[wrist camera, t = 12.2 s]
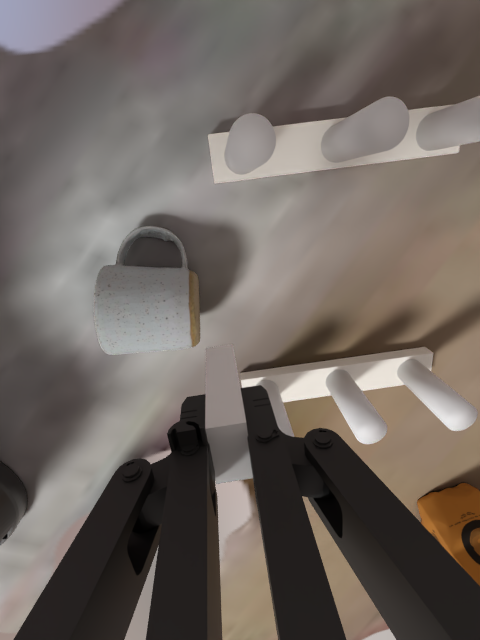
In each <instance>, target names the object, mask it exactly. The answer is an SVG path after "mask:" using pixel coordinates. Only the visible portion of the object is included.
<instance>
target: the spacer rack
mask: <svg viewBox="0 0 480 640" xmlns="http://www.w3.org/2000/svg"><path fill="white" fill-rule="evenodd" d="M208 141H209V148H210V155H211V163H212V170H213V177H214V184H218V183H226V182H234V181H242V180H249V179H257V178H265V177H273V176H281V175H289V174H297V173H305V172H313V171H321V170H329V169H337V168H344V167H352V166H360V165H368V164H376V163H384V162H392V161H400V160H408V159H416V158H424V157H432V156H439V155H447V154H453V153H459V147H460V145H464V144H469V143H474V142H479V141H480V95H479V96H477V97H474V98H471V99H468V100H466V101H463V102H460V103H458V104H453V105H445V106H436V107H428V108H420V109H412V110H408V109H407V107H406V105H405V104H404V103H403V102H402V101H401V100H400V99H398V98H396V97H391V96H389V97H384V98H381V99H379V100H377V101H375V102H374V103H372V104H370V105H368V106H367V107H365V108H363V109H361V110H360V111H358V112H356V113H354V114H353V115H351V116H349V117H346V118H338V119H330V120H322V121H314V122H306V123H297V124H289V125H281V126H272V124H271V123H270V122H269V121H268V119H266V118H265V117H264V116H262V115H260V114H256V113H248V114H245V115H243V116H241V117H239V118H238V119H237V120H236V121H235V122H234V123H233V125H232V127H231V129H230V132H224V133H216V134H208ZM432 361H433V352H432V351H430V350H429V349H427V348H426V347H419V348H412V349H405V350H398V351H391V352H384V353H377V354H370V355H363V356H356V357H349V358H342V359H335V360H327V361H320V362H313V363H306V364H299V365H292V366H285V367H278V368H271V369H264V370H257V371H250V372H243V373H240V376H241V383H242V388H245V387H251V386H257V385H261V386H262V387H264V388H265V389H266V390H267V392H268V396H269V399H270V402H271V405H272V409H273V412H274V415H275V419H276V422H277V425H278V427H279V429H280V430H281V431H282V432H283V433H285V434H286V435H289V436H292V437H294V434H293V431H292V428H291V425H290V422H289V419H288V416H287V413H286V410H285V407H284V404H283V402H289V401H295V400H302V399H309V398H316V397H323V396H330V395H332V397H333V399H334V400H335V402H336V404H337V405H338V407H339V409H340V411H341V412H342V414H343V416H344V418H345V419H346V421H347V423H348V425H349V426H350V428H351V430H352V431H353V433H354V435H355V437H356V438H357V440H358V441H359V442H361V443H363V444H373V443H376V442H378V441H379V440H381V439H382V438H383V437H384V436H385V434H386V432H387V425H386V423H385V421H384V420H383V419H382V417H381V416H380V415H379V413H378V412H377V411H376V409H375V408H374V407H373V405H372V404H371V403H370V401H369V400H368V399H367V397H366V396H365V394H364V393H363V392H362V391H365V390H372V389H379V388H386V387H393V386H400V385H406V386H407V387H408V388H409V389H410V390H411V391H412V392H413V393H414V394H415V395H416V396H417V397H418V398H419V399H420V400H421V401H422V402H423V403H424V404H425V405H426V406H427V407H428V408H429V409H430V410H431V411H432V412H433V413H434V414H435V415H436V416H437V417H438V418H439V419H440V420H441V421H442V422H443V423H444V424H445V425H446V426H447V427H448V428H449V429H450V430H453V431H460V430H464V429H466V428H468V427H470V426H471V425H472V424H473V423H474V422H475V420H476V418H477V414H478V413H477V409H476V408H475V407H474V406H473V405H471V404H470V403H469V402H468V401H467V400H465V399H464V398H463V397H462V396H461V395H459V394H458V393H457V392H456V391H454V390H453V389H452V388H451V387H450V386H448V385H447V384H446V383H445V382H444V381H442V380H441V379H440V378H439V377H437V376H436V375H435V374H434V373H433V372H431V368H432Z"/></svg>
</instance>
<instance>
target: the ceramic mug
mask: <svg viewBox="0 0 480 640" xmlns="http://www.w3.org/2000/svg"><path fill="white" fill-rule="evenodd" d="M144 236H146V237H155V238H160V239H163V240H164V241H169V240H171V241H173V242H174V243H175V244H176V245H177V247H178V248H179V250H180V253H181V258H182V267H181V268H161V267H159V268H156V267H139V266H124V262H125V257H126V254H127V251H128V249H129V247H130V246H131V244H132V243H133V242H134V241H135V240H136V239H137V238H141V237H144ZM94 321H95V329H96V333H97V337H98V341H99V344H100V347H101V348H102V350H103V351H104V352H105V353H107V354H109V355H117V354H128V353H143V352H156V351H172V350H182V349H187V348H191V347H194V346H196V345H197V344H198V343H199V342H200V305H199V280H198V276H197V274H196V273H194V272H193V271H191V270H188V268H187V257H186V253H185V249H184V247H183V245H182V243H181V241H180V240H179V238H178V237H177V236H176V235H175V234H173V233H172V232H171V231H169V230H167V229H164V228H162V227H157V226H143V227H139V228H137V229H135V230H133V231H132V232H131V233H130V234H129V235H128V236H127V237H126V238H125V239H124V240H123V242H122V244H121V246H120V249H119V251H118V255H117V260H116V264H115V265H108V266H104V267H103V268H102V269H101V270H100V272H99V274H98V276H97V280H96V285H95V290H94Z"/></svg>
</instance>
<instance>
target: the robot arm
mask: <svg viewBox="0 0 480 640" xmlns="http://www.w3.org/2000/svg"><path fill="white" fill-rule="evenodd" d="M167 435H168V439H169V443H170V447H171V451H172V453H171V454H170V455H168V456H167V457H166V458H164V459H162V460H160V461H158V462H155V463H153V464H151V465H150V463H149V462H148V461H147V460H145V459H133V460H131V461H128V462H126V463H124V464H123V465H122V466H120V467H119V468H118V469H117V471H116V472H115V473H114V475H113V476H112V478H111V480H110V481H109V483H108V485H107V486H106V488H105V490H104V491H103V493H102V495H101V496H100V498H99V500H98V501H97V503H96V504H95V506H94V508H93V509H92V511H91V513H90V514H89V516H88V518H87V520H86V521H85V523H84V524H83V526H82V528H81V529H80V531H79V533H78V534H77V536H76V537H75V539H74V541H73V542H72V544H71V546H70V548H69V549H68V551H67V552H66V554H65V556H64V557H63V559H62V561H61V562H60V564H59V565H58V567H57V569H56V570H55V572H54V574H53V575H52V577H51V579H50V580H49V582H48V584H47V585H46V587H45V589H44V590H43V592H42V594H41V595H40V597H39V598H38V600H37V602H36V603H35V605H34V607H33V608H32V610H31V612H30V613H29V615H28V617H27V618H26V620H25V622H24V623H23V625H22V626H21V628H20V630H19V631H18V633H17V635H16V637H15V638H14V640H124V639H125V636H126V633H127V630H128V628H129V625H130V622H131V619H132V617H133V614H134V611H135V608H136V606H137V603H138V600H139V597H140V595H141V592H142V589H143V586H144V584H145V581H146V578H147V575H148V573H149V570H150V567H151V564H152V562H153V559H154V556H155V553H156V551H157V548H158V545H159V548H158V555H157V562H156V570H155V578H154V584H153V592H152V599H151V606H150V613H149V621H148V628H147V636H146V640H222V619H221V590H220V562H219V535H218V505H217V493H216V488H215V481H216V484H220V483H226V482H232V481H238V480H244V479H250V478H253V481H254V488H255V495H256V502H257V507H258V514H259V520H260V526H261V533H262V539H263V546H264V552H265V558H266V565H267V571H268V578H269V584H270V590H271V597H272V603H273V609H274V616H275V622H276V629H277V635H278V640H346V637H345V634H344V631H343V627H342V624H341V621H340V618H339V615H338V611H337V608H336V605H335V602H334V598H333V595H332V592H331V589H330V585H329V582H328V579H327V576H326V573H325V569H324V566H323V563H322V560H321V556H320V553H319V550H318V547H317V544H316V540H315V537H314V534H313V531H312V527H311V524H310V521H309V518H308V514H307V511H306V508H305V505H304V502H303V498H302V496H305V497H308V499H309V501H310V503H311V504H312V506H313V507H314V509H315V511H316V512H317V514H318V515H319V517H320V519H321V520H322V522H323V523H324V525H325V527H326V528H327V530H328V531H329V533H330V534H331V536H332V538H333V539H334V541H335V542H336V544H337V546H338V547H339V549H340V550H341V552H342V554H343V555H344V557H345V558H346V560H347V562H348V563H349V565H350V566H351V568H352V569H353V571H354V573H355V574H356V576H357V577H358V579H359V581H360V582H361V584H362V585H363V587H364V589H365V590H366V592H367V593H368V595H369V597H370V598H371V600H372V601H373V603H374V605H375V606H376V608H377V609H378V611H379V612H380V614H381V616H382V617H383V619H384V620H385V622H386V624H387V625H388V627H389V628H390V630H391V632H392V633H393V635H394V636H395V638H396V640H480V586H479V585H478V584H477V582H476V581H475V580H474V579H473V578H472V577H471V576H470V575H469V574H468V573H467V572H466V571H465V570H464V569H463V568H462V566H461V565H460V564H459V563H458V562H457V561H456V560H455V559H454V558H453V557H452V556H451V555H450V554H449V553H448V551H447V550H446V549H445V548H444V547H443V546H442V545H441V544H440V543H439V542H438V541H437V540H436V539H435V538H434V537H433V535H432V534H431V533H430V532H429V531H428V530H427V529H426V528H425V527H424V526H423V525H422V524H421V523H420V522H419V521H418V519H417V518H416V517H415V516H414V515H413V514H412V513H411V512H410V511H409V510H408V509H407V508H406V507H405V506H404V504H403V503H402V502H401V501H400V500H399V499H398V498H397V497H396V496H395V495H394V494H393V493H392V492H391V491H390V490H389V488H388V487H387V486H386V485H385V484H384V483H383V482H382V481H381V480H380V479H379V478H378V477H377V476H376V475H375V474H374V472H373V471H372V470H371V469H370V468H369V467H368V466H367V465H366V464H365V463H364V462H363V461H362V460H361V459H360V457H359V456H358V455H357V454H356V453H355V452H354V451H353V450H352V449H351V448H350V447H349V446H348V445H347V444H346V443H345V441H344V440H343V439H342V438H341V437H340V436H339V435H338V434H336V433H335V432H334V431H331V430H329V429H323V428H318V429H313V430H311V431H309V432H308V433H307V434H306V436H305V437H304V438H299V437H292V436H289V435H286V434H285V433H283V432H282V431H281V430H280V429H279V427H278V425H277V422H276V419H275V415H274V412H273V409H272V405H271V402H270V399H269V396H268V392H267V390H266V389H265V388H264V387H262V386H261V385H257V386H251V387H245V388H240V382H239V377H238V371H237V365H236V359H235V353H234V347H233V344H229V345H222V346H216V347H209V348H206V394H204V395H198V396H191V397H187V398H186V399H185V401H184V402H183V404H182V407H181V415H180V421H179V422H177V423H176V424H174V425H173V426H172V427H171V428H170V429H169V431H168V433H167ZM26 507H27V495H26V491H25V489H24V486H23V485H22V483H21V481H20V480H19V478H18V477H17V476H16V475H15V474H14V473H13V472H12V471H11V470H10V469H9V468H8V467H6V466H5V465H4V464H2V463H1V462H0V545H1V544H3V543H4V542H5V541H6V540H7V539H8V538H9V537H10V536H11V534H12V533H13V532H14V530H15V529H16V527H17V525H18V523H19V522H20V520H21V518H22V517H23V515H24V513H25V511H26Z"/></svg>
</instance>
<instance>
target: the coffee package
mask: <svg viewBox="0 0 480 640" xmlns="http://www.w3.org/2000/svg"><path fill="white" fill-rule="evenodd" d="M417 504H418V508H419V513H420V516H421V519H422V521H421V524H422V525H423V526H424V527H425V528H426V529H427V530H428V531H429V532H430V533H431V534H432V535H433V537H434V538H435V539H436V540H437V541H438V542H439V543H440V544H441V545H442V546H443V547H444V548H445V549H446V550H447V551H448V553H449V554H450V555H451V556H452V557H453V558H454V559H455V560H456V561H457V562H458V563H459V564H460V565H461V566H462V568H463V569H464V570H465V571H466V572H467V573H468V574H469V575H470V576H471V577H472V578H473V579H474V580H475V581H476V582H477V584H478V585H479V586H480V491H479V490H478V489H477V488H475V487H473V486H471V485H469V484H466V483H461V484H459V485H458V486H456V487H453V488H446V489H444V490H442V491H440V492H432V493H429V494H428V495H426V496H423V497H422V498H420V499H419V500H418V502H417Z"/></svg>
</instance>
